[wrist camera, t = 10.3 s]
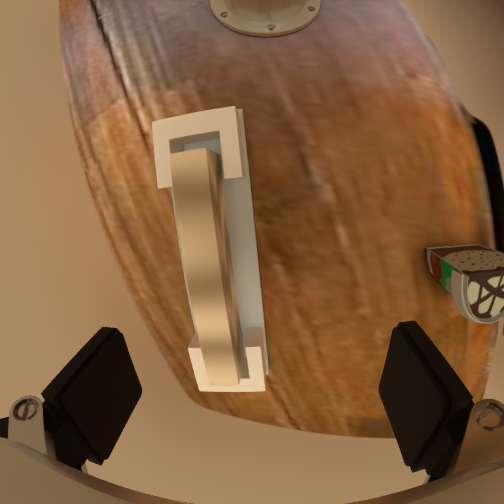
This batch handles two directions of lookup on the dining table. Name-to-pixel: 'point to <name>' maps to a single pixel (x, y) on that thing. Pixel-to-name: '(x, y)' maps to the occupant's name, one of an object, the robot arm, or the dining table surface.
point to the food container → (470, 279)
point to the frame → (239, 226)
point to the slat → (208, 261)
